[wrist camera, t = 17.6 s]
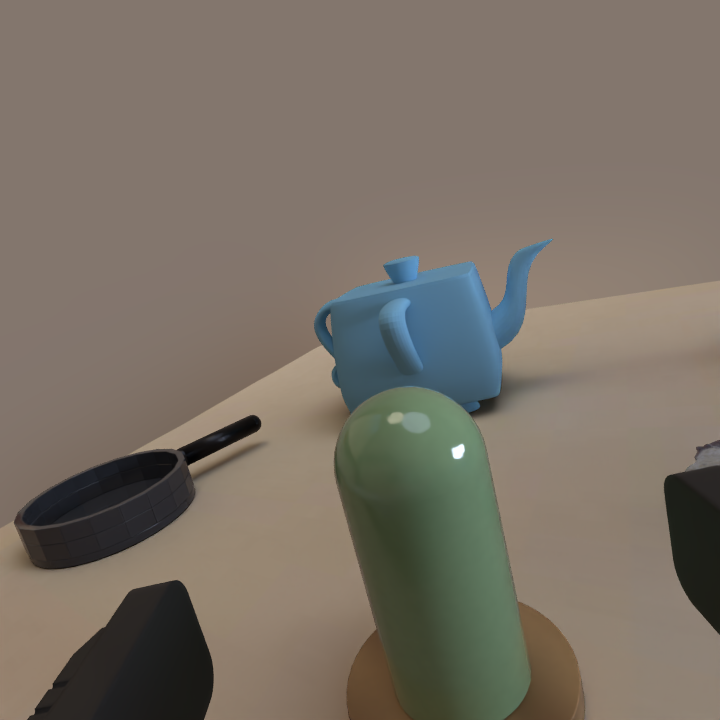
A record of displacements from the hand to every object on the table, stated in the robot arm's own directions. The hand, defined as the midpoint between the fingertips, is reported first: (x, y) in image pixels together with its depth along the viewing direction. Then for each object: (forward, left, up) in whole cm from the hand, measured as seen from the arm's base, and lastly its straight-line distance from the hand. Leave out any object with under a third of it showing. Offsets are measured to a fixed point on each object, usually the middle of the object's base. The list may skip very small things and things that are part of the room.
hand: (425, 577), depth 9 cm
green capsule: (+6, +6, -10) cm, 12 cm away
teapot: (+31, +25, -11) cm, 41 cm away
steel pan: (+4, +37, -11) cm, 39 cm away
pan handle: (+14, +37, -9) cm, 41 cm away
